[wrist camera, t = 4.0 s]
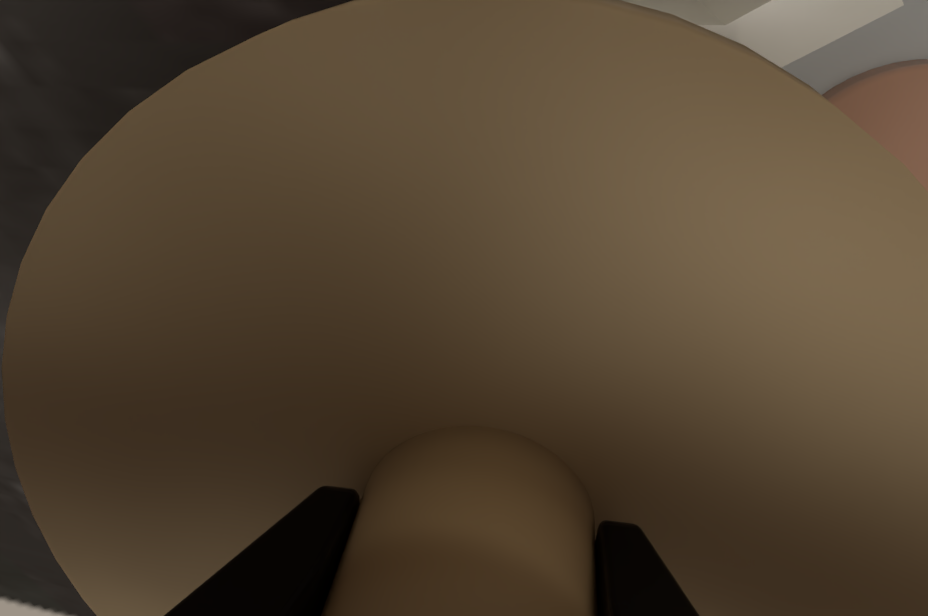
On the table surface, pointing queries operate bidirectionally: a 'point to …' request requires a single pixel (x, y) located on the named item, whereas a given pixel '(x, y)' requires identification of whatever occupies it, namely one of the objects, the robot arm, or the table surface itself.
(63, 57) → the table surface
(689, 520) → the lid
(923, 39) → the mat
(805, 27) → the bowl
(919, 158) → the pink glossy dome
